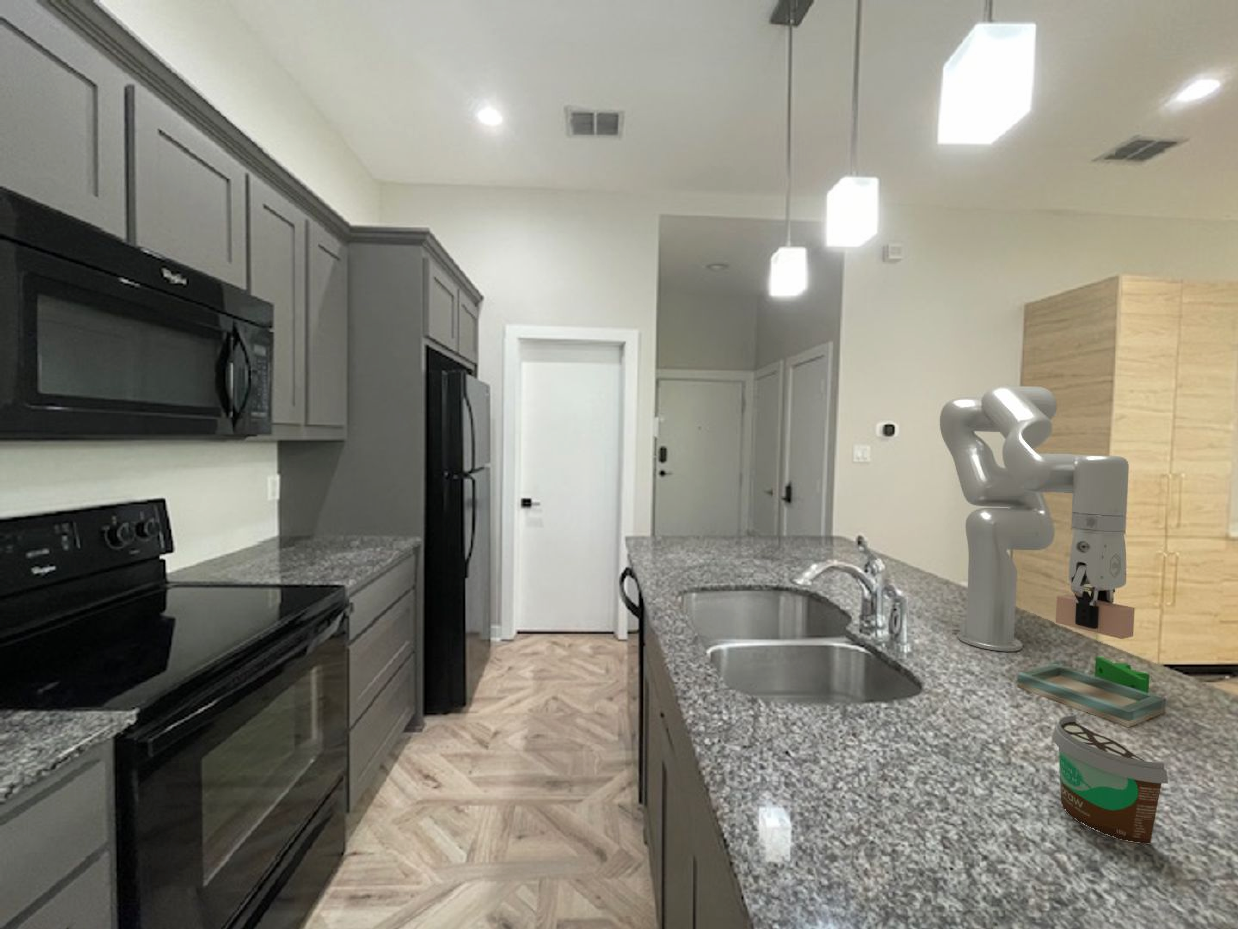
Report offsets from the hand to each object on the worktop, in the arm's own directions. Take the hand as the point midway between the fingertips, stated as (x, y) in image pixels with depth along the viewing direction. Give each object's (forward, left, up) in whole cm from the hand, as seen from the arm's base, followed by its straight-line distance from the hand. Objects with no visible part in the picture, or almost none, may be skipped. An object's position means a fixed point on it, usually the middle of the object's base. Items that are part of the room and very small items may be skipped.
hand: (1093, 624), depth 103 cm
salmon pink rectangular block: (0, 0, -1) cm, 1 cm away
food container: (+18, -40, -14) cm, 46 cm away
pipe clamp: (+1, +12, -14) cm, 19 cm away
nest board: (0, 0, -14) cm, 14 cm away
